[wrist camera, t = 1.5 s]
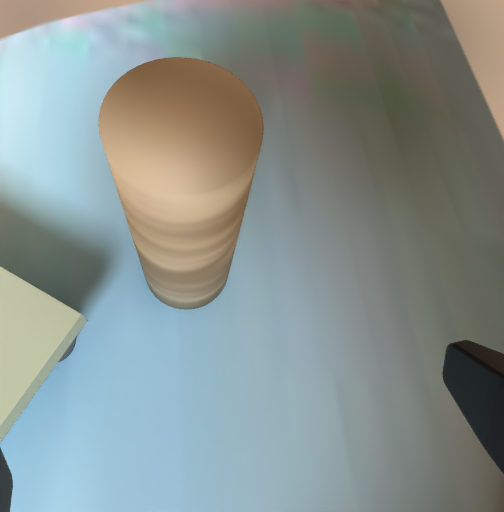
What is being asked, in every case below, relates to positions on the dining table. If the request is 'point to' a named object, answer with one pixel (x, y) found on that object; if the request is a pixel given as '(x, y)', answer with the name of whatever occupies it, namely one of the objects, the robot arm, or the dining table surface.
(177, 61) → the post
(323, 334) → the dining table surface
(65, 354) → the peg shelf
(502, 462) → the robot arm
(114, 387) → the dining table surface
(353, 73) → the dining table surface
